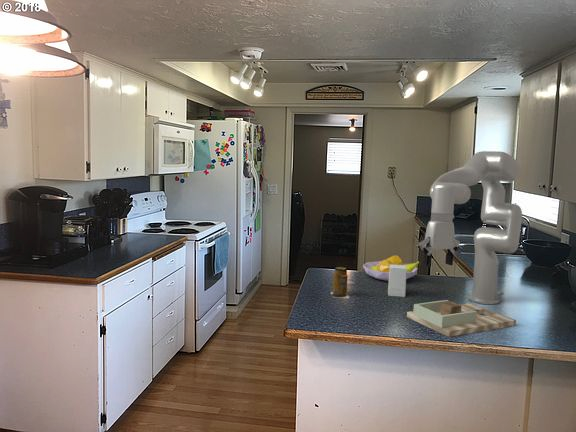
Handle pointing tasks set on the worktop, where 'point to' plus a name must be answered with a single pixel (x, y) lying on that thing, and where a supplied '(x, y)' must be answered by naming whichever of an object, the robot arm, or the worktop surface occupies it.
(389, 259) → the fruit bowl
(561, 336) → the worktop surface
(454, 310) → the walnut block
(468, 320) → the low bay
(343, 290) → the condiment
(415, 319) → the board
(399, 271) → the supplement box
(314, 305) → the worktop surface
